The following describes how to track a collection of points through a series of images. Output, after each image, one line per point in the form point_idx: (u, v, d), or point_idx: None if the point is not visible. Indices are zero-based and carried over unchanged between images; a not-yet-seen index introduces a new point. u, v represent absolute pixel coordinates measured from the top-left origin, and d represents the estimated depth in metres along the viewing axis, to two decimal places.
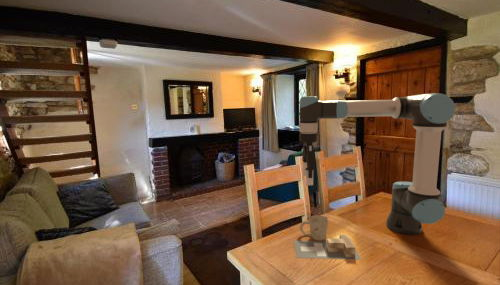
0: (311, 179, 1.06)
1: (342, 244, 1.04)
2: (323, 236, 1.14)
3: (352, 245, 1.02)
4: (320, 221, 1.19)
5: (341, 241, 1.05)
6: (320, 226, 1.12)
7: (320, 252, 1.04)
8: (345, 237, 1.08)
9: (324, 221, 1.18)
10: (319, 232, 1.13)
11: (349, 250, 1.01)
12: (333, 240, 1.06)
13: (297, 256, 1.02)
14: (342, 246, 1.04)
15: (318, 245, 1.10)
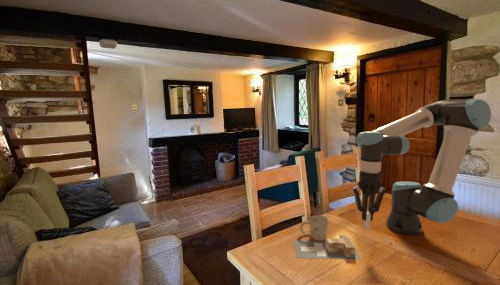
0: (365, 222, 1.03)
1: (342, 244, 1.04)
2: (323, 236, 1.14)
3: (352, 245, 1.02)
4: (320, 221, 1.19)
5: (341, 241, 1.05)
6: (320, 226, 1.12)
7: (320, 252, 1.04)
8: (345, 237, 1.08)
9: (324, 221, 1.18)
10: (319, 232, 1.13)
11: (349, 250, 1.01)
12: (333, 240, 1.06)
13: (297, 256, 1.02)
14: (342, 246, 1.04)
15: (318, 245, 1.10)
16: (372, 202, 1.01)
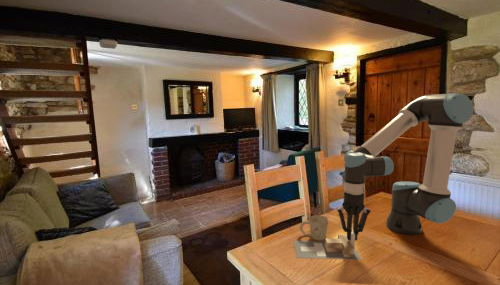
0: None
1: (340, 244, 1.04)
2: (323, 236, 1.14)
3: (350, 245, 1.02)
4: (320, 221, 1.19)
5: (339, 241, 1.05)
6: (320, 226, 1.12)
7: (320, 252, 1.04)
8: (343, 237, 1.08)
9: (324, 221, 1.18)
10: (319, 232, 1.13)
11: (347, 250, 1.01)
12: (332, 240, 1.06)
13: (297, 256, 1.02)
14: (340, 246, 1.04)
15: (318, 245, 1.10)
16: (356, 222, 1.03)
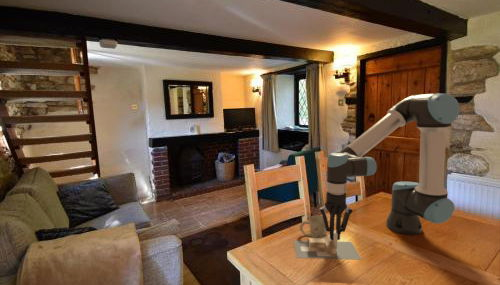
0: (333, 241, 1.05)
1: (323, 244, 1.04)
2: None
3: (333, 245, 1.02)
4: (320, 221, 1.19)
5: (322, 241, 1.06)
6: (320, 226, 1.12)
7: (320, 252, 1.04)
8: (326, 237, 1.09)
9: None
10: (319, 232, 1.13)
11: (329, 250, 1.01)
12: (315, 240, 1.06)
13: (297, 256, 1.02)
14: (323, 246, 1.05)
15: None
16: (339, 222, 1.03)
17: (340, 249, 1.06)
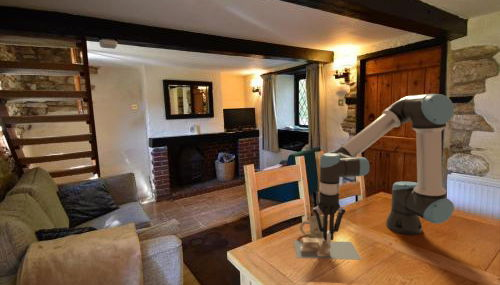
0: None
1: (317, 243, 1.05)
2: None
3: (326, 244, 1.03)
4: None
5: (316, 240, 1.06)
6: None
7: None
8: (320, 237, 1.09)
9: None
10: (319, 232, 1.13)
11: (322, 250, 1.01)
12: (308, 240, 1.07)
13: (297, 256, 1.02)
14: (317, 245, 1.05)
15: None
16: (332, 222, 1.03)
17: (340, 249, 1.06)
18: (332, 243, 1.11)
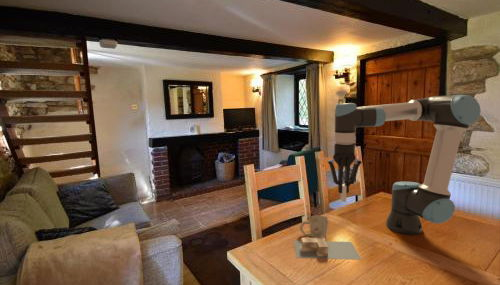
0: (341, 195, 1.03)
1: (316, 243, 1.05)
2: None
3: (325, 244, 1.03)
4: (320, 221, 1.19)
5: (315, 240, 1.06)
6: (320, 226, 1.12)
7: None
8: (319, 237, 1.09)
9: (324, 221, 1.18)
10: (319, 232, 1.13)
11: (321, 250, 1.02)
12: (307, 240, 1.07)
13: (297, 256, 1.02)
14: (316, 245, 1.05)
15: None
16: (347, 174, 1.01)
17: (340, 249, 1.06)
18: (332, 243, 1.11)
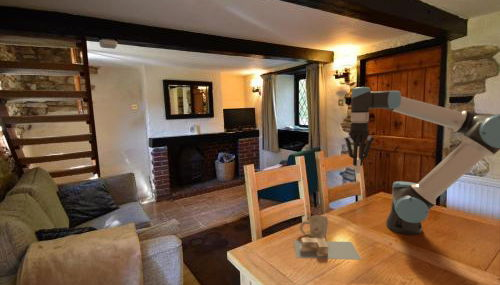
0: (356, 167, 1.19)
1: (316, 243, 1.05)
2: None
3: (325, 244, 1.03)
4: (320, 221, 1.19)
5: (315, 240, 1.06)
6: (320, 226, 1.12)
7: None
8: (319, 237, 1.09)
9: (324, 221, 1.18)
10: (319, 232, 1.13)
11: (321, 250, 1.02)
12: (307, 240, 1.07)
13: (297, 256, 1.02)
14: (316, 245, 1.05)
15: None
16: (361, 149, 1.17)
17: (340, 249, 1.06)
18: (332, 243, 1.11)
